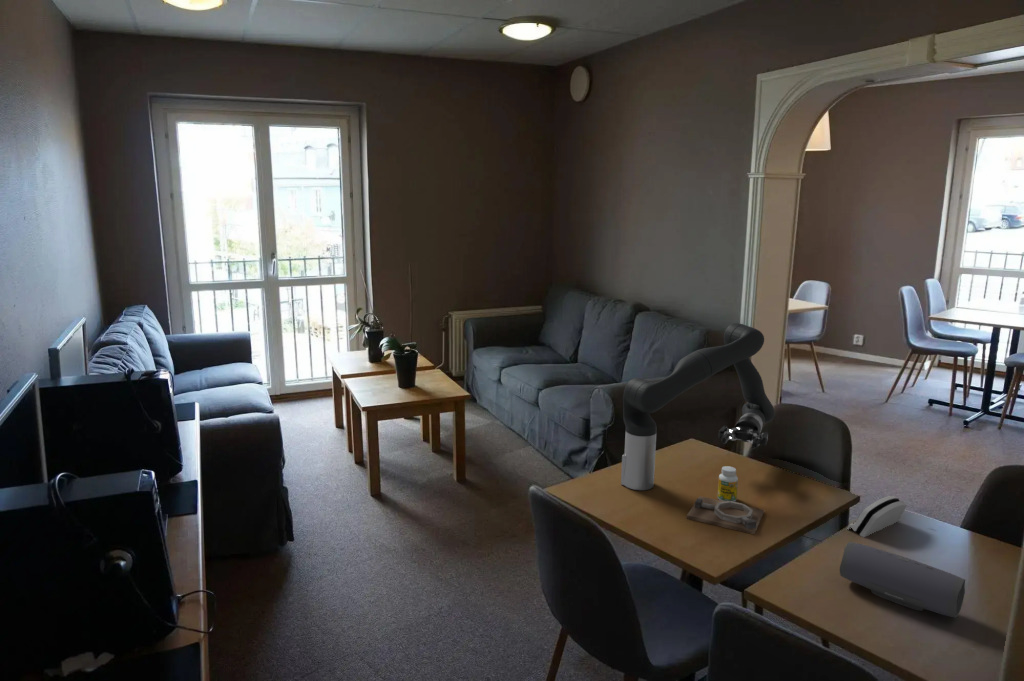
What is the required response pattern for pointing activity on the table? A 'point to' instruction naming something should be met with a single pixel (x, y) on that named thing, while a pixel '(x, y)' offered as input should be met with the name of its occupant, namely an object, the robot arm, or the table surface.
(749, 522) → the stand
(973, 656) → the table surface
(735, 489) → the supplement bottle
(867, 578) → the bluetooth speaker
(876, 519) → the white two-tone part
